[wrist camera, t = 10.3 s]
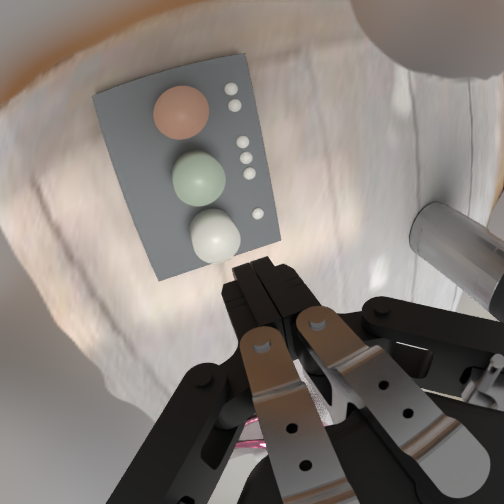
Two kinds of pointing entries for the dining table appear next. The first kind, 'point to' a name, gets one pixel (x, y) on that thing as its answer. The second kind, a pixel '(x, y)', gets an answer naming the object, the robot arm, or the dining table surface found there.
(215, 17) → the dining table surface
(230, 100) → the charcoal panel
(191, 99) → the terracotta button
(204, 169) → the sage button
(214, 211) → the cream button
